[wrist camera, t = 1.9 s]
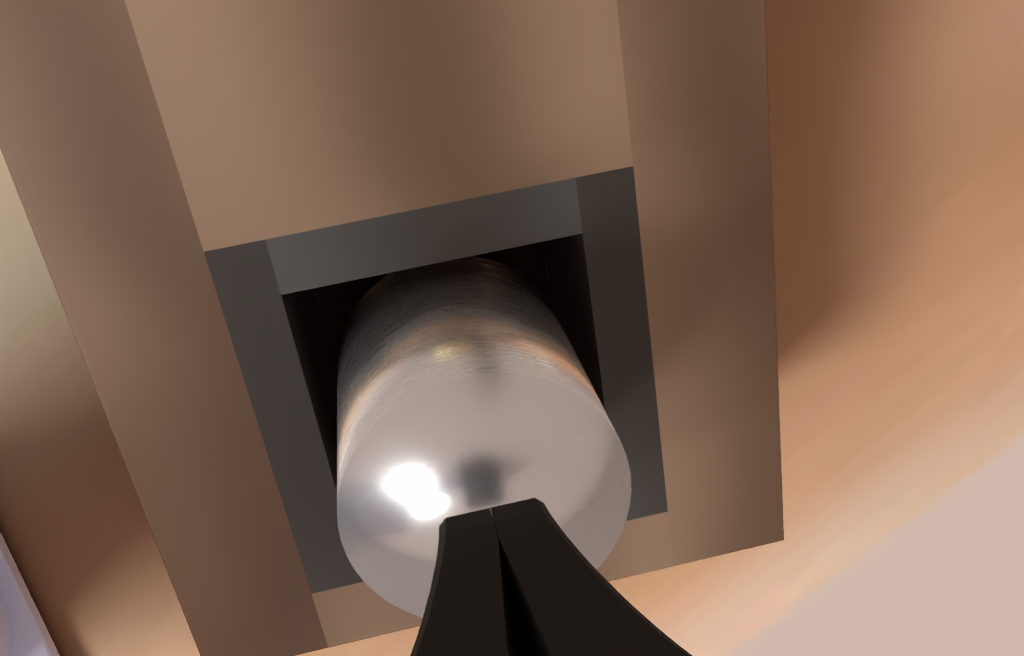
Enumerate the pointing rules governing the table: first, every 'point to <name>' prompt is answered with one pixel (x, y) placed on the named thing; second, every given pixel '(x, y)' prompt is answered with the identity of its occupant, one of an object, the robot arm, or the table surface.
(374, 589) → the steel peg
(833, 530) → the table surface
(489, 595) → the robot arm
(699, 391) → the peg board
